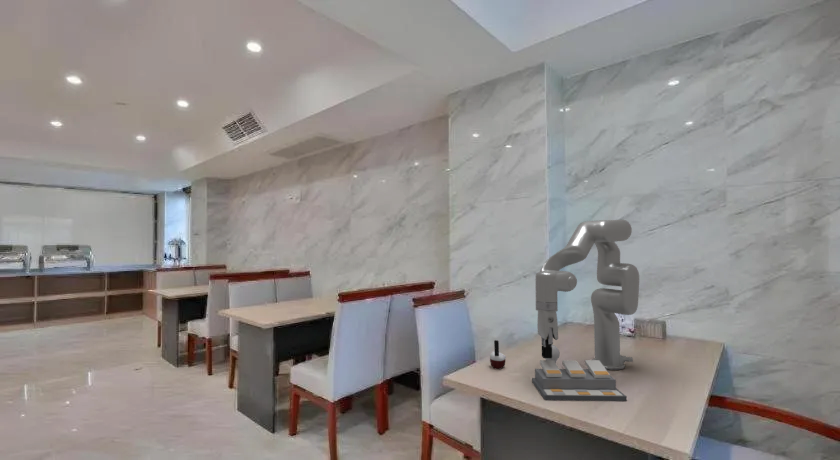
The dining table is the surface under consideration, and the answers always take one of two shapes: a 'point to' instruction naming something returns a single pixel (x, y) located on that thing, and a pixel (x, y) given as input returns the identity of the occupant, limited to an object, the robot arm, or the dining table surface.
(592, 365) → the switch
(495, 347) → the cocoa
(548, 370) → the switch
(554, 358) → the lightbulb
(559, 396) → the switch unit
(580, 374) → the switch
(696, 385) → the dining table surface
